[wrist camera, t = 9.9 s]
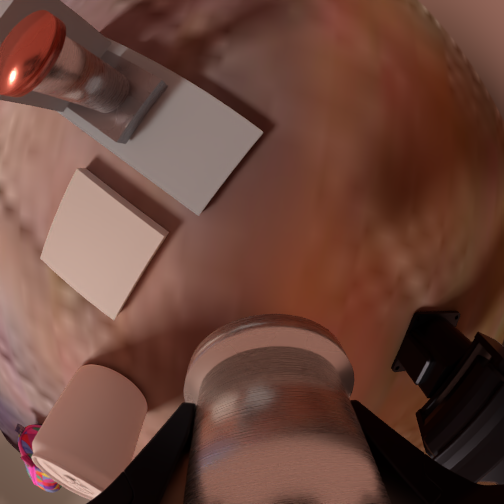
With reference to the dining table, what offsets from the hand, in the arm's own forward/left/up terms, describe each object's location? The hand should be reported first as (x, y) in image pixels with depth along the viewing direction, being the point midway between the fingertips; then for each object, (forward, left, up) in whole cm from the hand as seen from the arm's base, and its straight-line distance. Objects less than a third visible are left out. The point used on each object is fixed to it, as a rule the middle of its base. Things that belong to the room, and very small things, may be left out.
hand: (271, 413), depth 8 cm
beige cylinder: (+13, +14, -12) cm, 22 cm away
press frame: (+12, -7, -12) cm, 18 cm away
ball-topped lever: (+10, -11, -10) cm, 18 cm away
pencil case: (+32, +39, -12) cm, 52 cm away
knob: (0, 0, -2) cm, 2 cm away
